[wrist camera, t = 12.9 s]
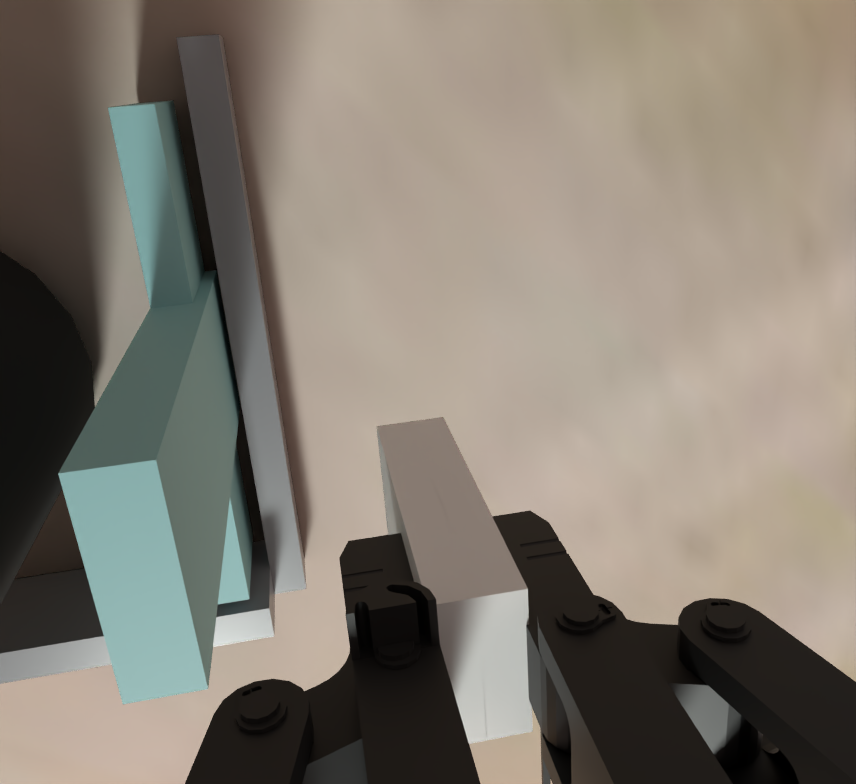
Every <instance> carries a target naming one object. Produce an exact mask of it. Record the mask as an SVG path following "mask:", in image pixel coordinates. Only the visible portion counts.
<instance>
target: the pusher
mask: <svg viewBox="0 0 856 784" xmlns="http://www.w3.org/2000/svg"><path fill="white" fill-rule="evenodd" d="M108 110H109V115H110V120H111V124H112V129H113V134H114V138H115V143H116V148H117V153H118V157H119V162H120V167H121V171H122V176H123V181H124V185H125V190H126V195H127V200H128V204H129V209H130V214H131V218H132V223H133V228H134V232H135V237H136V242H137V247H138V251H139V256H140V261H141V265H142V270H143V275H144V280H145V284H146V289H147V294H148V298H149V303H150V310H149V312H148V314H147V315H146V317H145V319H144V321H143V323H142V324H141V326H140V328H139V330H138V331H137V333H136V335H135V337H134V339H133V340H132V342H131V344H130V346H129V348H128V349H127V351H126V353H125V355H124V357H123V358H122V360H121V362H120V364H119V366H118V367H117V369H116V371H115V373H114V374H113V376H112V378H111V380H110V382H109V383H108V385H107V387H106V389H105V391H104V392H103V394H102V396H101V398H100V400H99V401H98V403H97V405H96V407H95V408H94V410H93V412H92V414H91V416H90V417H89V419H88V421H87V423H86V425H85V426H84V428H83V430H82V432H81V434H80V435H79V437H78V439H77V441H76V443H75V444H74V446H73V448H72V450H71V451H70V453H69V455H68V457H67V459H66V460H65V462H64V464H63V466H62V468H61V469H60V471H59V473H58V475H59V478H60V482H61V485H62V489H63V493H64V496H65V500H66V503H67V507H68V510H69V514H70V517H71V521H72V525H73V528H74V532H75V535H76V539H77V542H78V546H79V549H80V553H81V557H82V560H83V564H84V567H85V571H86V574H87V578H88V581H89V585H90V589H91V592H92V596H93V599H94V603H95V606H96V610H97V613H98V617H99V621H100V624H101V628H102V631H103V635H104V638H105V642H106V645H107V649H108V653H109V656H110V660H111V663H112V667H113V670H114V674H115V677H116V681H117V685H118V688H119V692H120V695H121V699H122V702H123V704H127V703H133V702H138V701H144V700H150V699H155V698H161V697H166V696H172V695H177V694H183V693H188V692H194V691H200V690H205V689H208V685H209V676H210V668H211V659H212V650H213V641H214V632H215V624H216V615H217V606H218V604H224V603H230V602H236V601H242V600H248V599H250V580H251V561H252V543H253V533H252V527H251V522H250V516H249V511H248V505H247V500H246V494H245V489H244V483H243V478H242V472H241V467H240V462H239V456H238V451H237V445H236V439H237V430H238V422H239V413H240V399H239V393H238V388H237V382H236V376H235V371H234V365H233V359H232V354H231V348H230V343H229V337H228V331H227V326H226V320H225V314H224V309H223V303H222V297H221V292H220V286H219V280H218V275H217V270H215V271H206V272H205V270H204V265H203V259H202V254H201V248H200V243H199V237H198V232H197V226H196V221H195V215H194V210H193V204H192V199H191V193H190V188H189V182H188V177H187V172H186V166H185V161H184V155H183V150H182V144H181V139H180V133H179V128H178V122H177V117H176V111H175V106H174V100H173V101H161V102H148V103H136V104H129V105H122V106H116V107H110V108H108Z"/></svg>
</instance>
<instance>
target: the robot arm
mask: <svg viewBox="0 0 856 784" xmlns="http://www.w3.org/2000/svg"><path fill="white" fill-rule="evenodd" d="M377 435H378V444H379V453H380V463H381V472H382V481H383V490H384V500H385V509H386V518H387V527H388V535H384V536H378V537H372V538H365V539H359V540H353V541H348V543H347V545H346V547H345V549H344V551H343V552H342V554H341V556H340V566H341V574H342V582H343V590H344V598H345V606H346V620H347V628H348V635H349V642H350V654H349V656H348V658H347V661H346V663H345V664H344V665H343V667H342V668H341V669H340V670H339V672H337V673H336V674H335V675H334V676H332V677H331V678H330V679H329V680H327V681H325V682H323V683H321V684H320V685H318V686H316V687H313V688H311V689H309V690H307V691H303V689H302V688H301V687H299V686H297V685H295V684H293V683H292V682H290V681H284V680H277V679H269V680H263V681H256V682H253V683H251V684H248V685H246V686H244V687H241V688H239V689H237V690H236V691H234V692H233V693H232V694H231V695H229V696H228V697H227V698H225V699H224V700H223V701H222V703H221V704H220V706H219V707H218V709H217V710H216V712H215V713H214V715H213V718H212V720H211V723H210V725H209V727H208V730H207V732H206V735H205V737H204V739H203V742H202V744H201V747H200V749H199V751H198V754H197V756H196V759H195V761H194V763H193V766H192V768H191V771H190V773H189V775H188V778H187V780H186V783H185V784H480V781H479V777H478V774H477V770H476V767H475V763H474V760H473V757H472V753H471V750H470V746H469V744H471V743H476V742H481V741H486V740H491V739H497V738H502V737H507V736H512V735H517V734H522V733H527V732H532V731H533V730H532V708H533V710H534V713H535V715H536V718H537V720H538V723H539V725H540V728H541V762H542V784H550V779H551V780H552V783H553V784H856V682H855V681H854V680H852V679H851V678H850V677H848V676H847V675H845V674H844V673H843V672H841V671H840V670H839V669H837V668H836V667H834V666H833V665H832V664H830V663H829V662H828V661H826V660H825V659H824V658H822V657H821V656H819V655H818V654H817V653H815V652H814V651H813V650H811V649H810V648H808V647H807V646H806V645H804V644H803V643H802V642H800V641H799V640H797V639H796V638H795V637H793V636H792V635H791V634H789V633H788V632H786V631H785V630H784V629H782V628H781V627H780V626H778V625H777V624H776V623H774V622H773V621H771V620H770V619H769V618H767V617H766V616H765V615H763V614H762V613H760V612H759V611H757V610H755V609H753V608H751V607H750V606H748V605H746V604H744V603H740V602H736V601H732V600H729V599H715V598H709V599H704V600H699V601H694V602H693V603H691V604H690V605H688V606H686V607H685V608H683V610H682V612H681V614H680V616H679V619H678V625H666V624H648V623H640V622H634V621H631V620H627V619H626V618H625V616H624V615H623V613H622V612H621V611H620V610H619V609H618V608H617V607H616V606H615V605H614V604H613V603H612V602H610V601H608V600H606V599H604V598H602V597H600V596H596V595H593V593H592V592H591V590H590V588H589V587H588V585H587V584H586V582H585V580H584V579H583V577H582V576H581V574H580V572H579V571H578V569H577V567H576V566H575V564H574V563H573V561H572V559H571V558H570V556H569V554H567V553H566V550H565V548H564V546H563V545H562V543H561V541H559V539H558V537H557V535H556V533H555V532H554V530H553V528H552V527H551V525H550V524H549V522H547V521H546V520H544V519H542V518H541V517H539V516H538V515H536V514H535V513H533V512H531V511H525V512H518V513H512V514H506V515H499V516H493V517H492V515H491V513H490V511H489V509H488V507H487V505H486V503H485V501H484V499H483V497H482V495H481V493H480V491H479V489H478V487H477V485H476V483H475V481H474V479H473V477H472V475H471V473H470V471H469V468H468V466H467V464H466V462H465V460H464V458H463V456H462V454H461V452H460V450H459V448H458V446H457V444H456V442H455V440H454V438H453V436H452V434H451V432H450V430H449V428H448V426H447V424H446V422H445V420H444V418H443V417H440V418H433V419H426V420H419V421H412V422H404V423H397V424H390V425H383V426H377Z"/></svg>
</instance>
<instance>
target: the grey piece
mask: <svg viewBox="0 0 856 784" xmlns="http://www.w3.org/2000/svg"><path fill="white" fill-rule="evenodd" d="M176 38H177V44H178V50H179V55H180V61H181V67H182V72H183V78H184V84H185V89H186V95H187V101H188V106H189V112H190V118H191V123H192V129H193V135H194V140H195V146H196V152H197V157H198V163H199V169H200V174H201V180H202V186H203V191H204V197H205V203H206V208H207V214H208V220H209V225H210V231H211V237H212V242H213V248H214V254H215V259H216V265H217V271H218V276H219V282H220V288H221V293H222V299H223V305H224V310H225V316H226V322H227V327H228V333H229V339H230V344H231V350H232V356H233V361H234V367H235V373H236V378H237V384H238V390H239V395H240V401H241V407H242V412H243V418H244V424H245V429H246V435H247V441H248V446H249V452H250V458H251V463H252V469H253V475H254V480H255V486H256V492H257V497H258V503H259V509H260V514H261V520H262V526H263V531H264V537H265V540H263V541H257V542H253V543H252V561H251V580H250V599H248V600H242V601H236V602H230V603H224V604H218V606H217V615H216V624H215V632H214V641H213V647H215V646H221V645H227V644H233V643H238V642H244V641H250V640H256V639H262V638H267V637H273V636H274V612H275V594H278V593H284V592H290V591H296V590H302V589H306V576H305V560H304V553H303V547H302V540H301V534H300V528H299V521H298V515H297V508H296V502H295V496H294V489H293V483H292V476H291V470H290V464H289V457H288V451H287V444H286V438H285V432H284V425H283V419H282V412H281V406H280V400H279V393H278V387H277V380H276V374H275V368H274V361H273V355H272V348H271V342H270V336H269V329H268V323H267V316H266V310H265V304H264V297H263V291H262V284H261V278H260V272H259V265H258V259H257V252H256V246H255V240H254V233H253V227H252V220H251V214H250V208H249V201H248V195H247V188H246V182H245V176H244V169H243V163H242V156H241V150H240V144H239V137H238V131H237V124H236V118H235V112H234V105H233V99H232V92H231V86H230V80H229V73H228V67H227V60H226V54H225V48H224V41H223V38H222V37H221V36H220V35H219V34H218V35H204V36H190V37H176ZM111 664H112V663H111V660H110V656H109V653H108V649H107V645H106V642H105V638H104V635H103V631H102V628H101V624H100V621H99V617H98V613H97V610H96V606H95V603H94V599H93V596H92V592H91V589H90V585H89V581H88V578H87V574H86V571H85V568H84V569H78V570H71V571H65V572H58V573H52V574H46V575H39V576H33V577H26V578H20V579H14V580H13V582H12V584H11V586H10V588H9V590H8V592H7V594H6V596H5V597H4V599H3V601H2V603H1V605H0V684H1V683H7V682H13V681H19V680H24V679H30V678H36V677H42V676H48V675H53V674H59V673H65V672H71V671H77V670H82V669H88V668H94V667H100V666H105V665H111Z"/></svg>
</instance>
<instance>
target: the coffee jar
mask: <svg viewBox="0 0 856 784" xmlns="http://www.w3.org/2000/svg"><path fill="white" fill-rule="evenodd" d="M94 408H95V405H94V391H93V378H92V365H91V360H90V358H89V356H88V354H87V351H86V349H85V347H84V344H83V342H82V340H81V338H80V335H79V333H78V331H77V328H76V326H75V324H74V321H73V319H72V317H71V315H70V314H69V313H68V312H67V311H66V310H65V308H64V307H63V306H62V305H61V304H60V303H59V301H58V300H57V299H56V298H55V297H54V296H53V295H52V293H51V292H50V291H49V290H48V289H47V288H46V286H45V285H44V284H43V283H42V282H41V281H40V280H39V278H38V277H37V276H36V275H35V274H34V273H32V272H31V271H29V270H28V269H26V268H25V267H23V266H22V265H20V264H19V263H17V262H16V261H14V260H13V259H11V258H10V257H8V256H7V255H5V254H4V253H2V252H1V251H0V605H1V603H2V601H3V599H4V597H5V596H6V594H7V592H8V590H9V588H10V586H11V584H12V582H13V580H14V579H15V577H16V575H17V573H18V571H19V569H20V567H21V565H22V563H23V562H24V560H25V558H26V556H27V554H28V552H29V550H30V548H31V546H32V545H33V543H34V541H35V539H36V537H37V535H38V533H39V531H40V529H41V528H42V526H43V524H44V522H45V520H46V518H47V516H48V514H49V512H50V511H51V509H52V507H53V505H54V503H55V501H56V499H57V497H58V495H59V494H60V492H61V490H62V485H61V482H60V478H59V475H58V473H59V471H60V469H61V468H62V466H63V464H64V462H65V460H66V459H67V457H68V455H69V453H70V451H71V450H72V448H73V446H74V444H75V443H76V441H77V439H78V437H79V435H80V434H81V432H82V430H83V428H84V426H85V425H86V423H87V421H88V419H89V417H90V416H91V414H92V412H93V410H94Z"/></svg>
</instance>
